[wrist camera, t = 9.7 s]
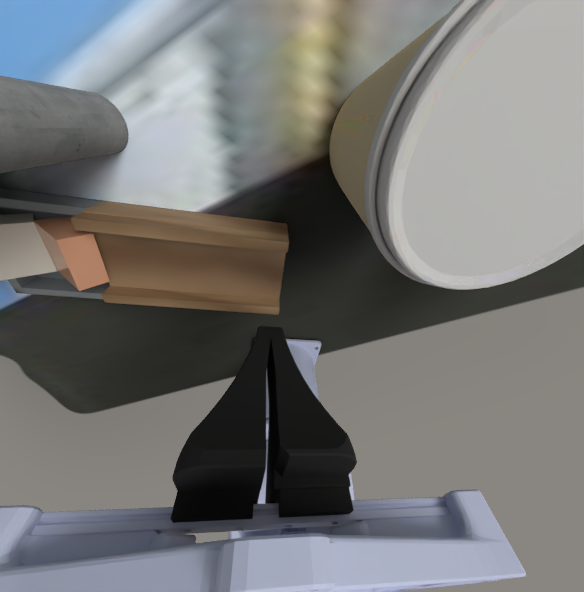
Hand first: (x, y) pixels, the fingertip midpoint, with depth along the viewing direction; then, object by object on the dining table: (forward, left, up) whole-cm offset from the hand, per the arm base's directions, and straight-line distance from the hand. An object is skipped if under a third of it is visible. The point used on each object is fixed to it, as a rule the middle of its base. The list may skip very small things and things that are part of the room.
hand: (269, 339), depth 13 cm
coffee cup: (+10, -7, -10) cm, 16 cm away
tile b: (0, +19, -7) cm, 20 cm away
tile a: (0, +14, -8) cm, 16 cm away
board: (0, +6, -10) cm, 12 cm away
